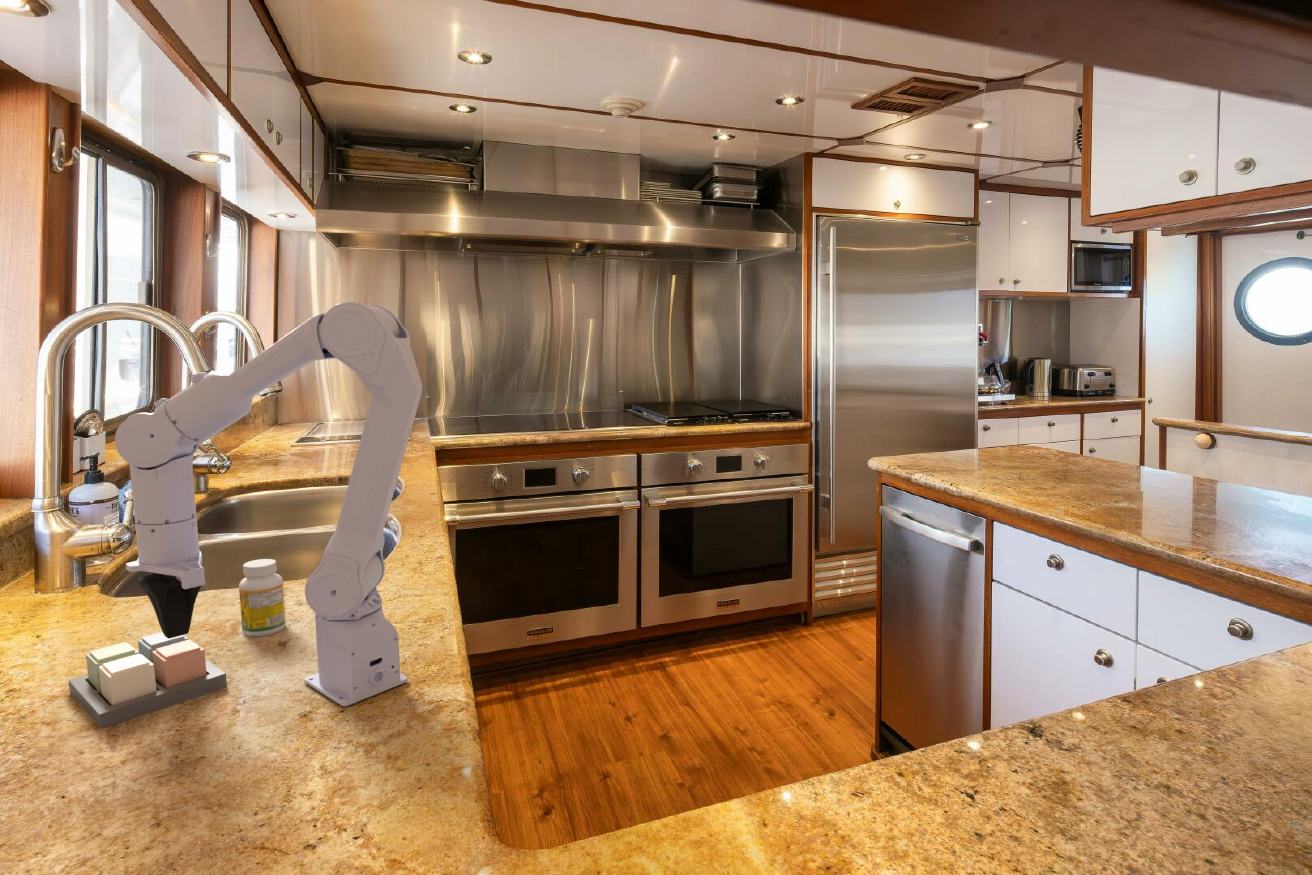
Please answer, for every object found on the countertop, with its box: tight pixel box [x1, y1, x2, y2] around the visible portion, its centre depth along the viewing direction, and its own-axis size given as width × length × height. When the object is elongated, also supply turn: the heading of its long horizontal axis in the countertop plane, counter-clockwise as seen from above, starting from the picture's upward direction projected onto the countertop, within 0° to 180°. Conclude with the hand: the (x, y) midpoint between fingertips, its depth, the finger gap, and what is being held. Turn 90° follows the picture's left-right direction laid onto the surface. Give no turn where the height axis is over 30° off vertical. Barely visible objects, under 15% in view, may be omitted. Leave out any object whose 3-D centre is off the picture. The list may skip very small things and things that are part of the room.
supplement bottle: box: [238, 558, 287, 637], centre depth 100 cm, size 5×5×10 cm
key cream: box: [99, 654, 156, 706], centre depth 79 cm, size 4×4×4 cm
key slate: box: [137, 631, 190, 663], centre depth 86 cm, size 4×4×4 cm
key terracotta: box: [152, 639, 207, 688], centre depth 83 cm, size 4×4×4 cm
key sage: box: [85, 641, 139, 691], centre depth 82 cm, size 4×4×4 cm
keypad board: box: [68, 658, 228, 730], centre depth 83 cm, size 12×12×2 cm
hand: (176, 634), depth 83 cm, fingers closed
